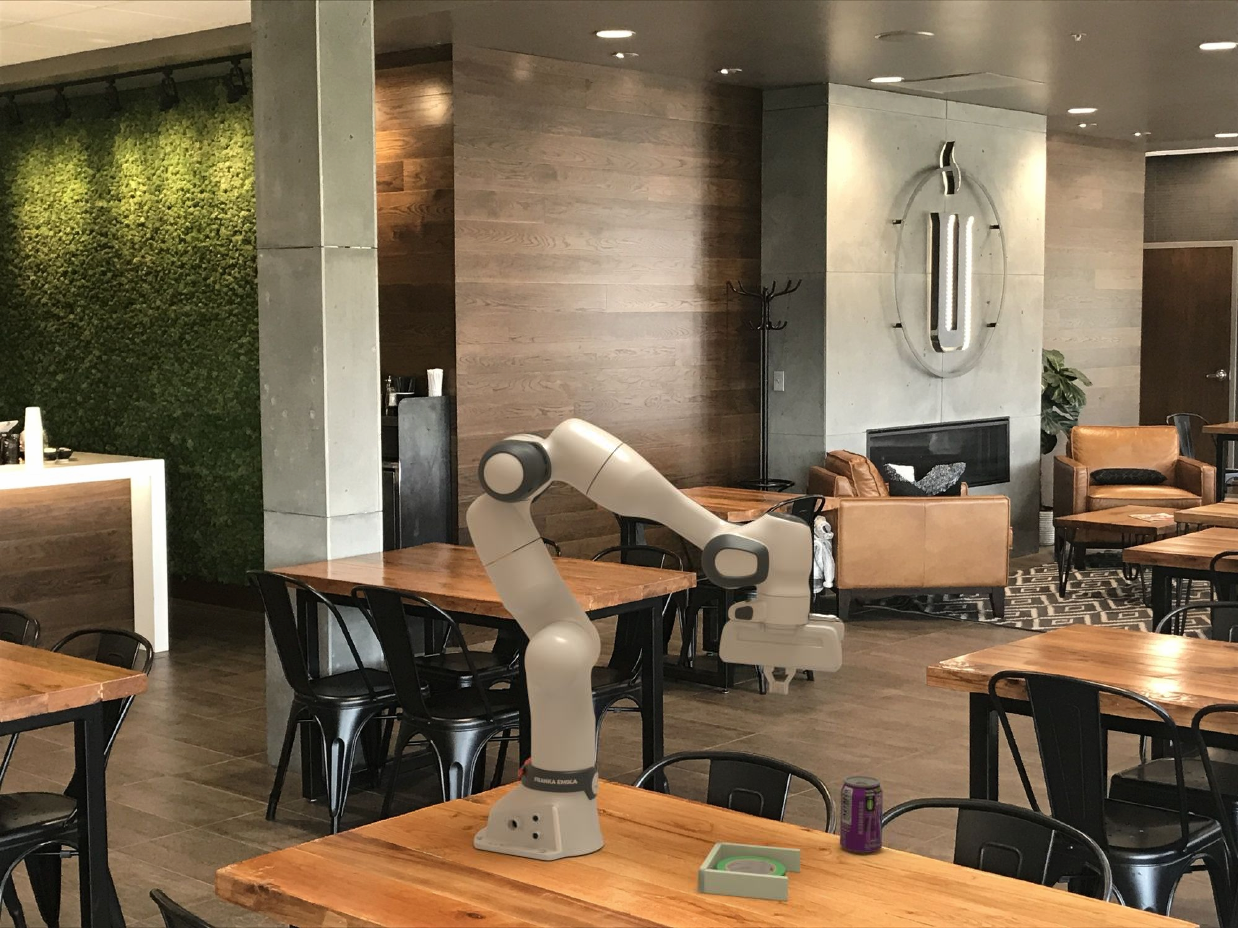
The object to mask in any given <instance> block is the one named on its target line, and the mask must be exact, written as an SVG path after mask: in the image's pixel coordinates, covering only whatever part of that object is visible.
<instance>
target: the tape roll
mask: <svg viewBox="0 0 1238 928" xmlns="http://www.w3.org/2000/svg"><path fill="white" fill-rule="evenodd" d="M717 870H722V871H733V872H743V873H754V874H765V875H775V876H786V872H787V871H786V870H785V867H784V866H783V865H782V864H781V863H779V862H777V861H775V860H772V859H768V858H763V857H754V856H739V857H732V858H727V859H725V860H722V861H720V862H719V863H718V864H717Z"/></svg>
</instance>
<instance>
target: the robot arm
mask: <svg viewBox="0 0 1238 928" xmlns="http://www.w3.org/2000/svg"><path fill="white" fill-rule="evenodd" d="M477 476H478V477H477V478H478V481H479V484H480V486H481V487H482V489H483V491H484V492H485V493H483V494H481V495H479V496H478V497H477V498H476V499H475V500H474V501H472V503H471V504H470V506H469V507H468V509H467V511H466V517H465V519H466V524H467V528H468V531H469V535H470V537H471V540H472V543H473V545H474V548H475V551H476V553H477V556H478V558H479V560H480V562H481V564H482V566H483V567H484V570H485V572H486V574H487V576H488V578H489V579H490V581H491V584H492V585H493V588H494V589H495V592H496V593H497V595H498V597H499V599H500V601H501V603H502V606H503V607H504V609H506V611H508V612H509V614H511V615H512V617H513V618H514V619H515V620H516V622H517V623H518V624H519V626H520V628H521V629H522V630H523V632H524V633H525V635H526V636H527V638H528V639H529V642H528V645H527V646H526V649H525V655H524V668H525V669H524V670H525V673H526V685H527V686H526V687H527V694H528V701H529V702H528V703H529V709H530V710H529V711H530V719H531V722H530V723H531V725H530V726H531V728H530V729H531V730H530V731H531V735H530V736H531V743H530V744H531V745H530V746H531V748H530V750H531V753H530V754H531V755H530V757H529V758H528V759H526V760H525V761H524V764H523V765H522V766H521V767H520V769H519V770H518V771H517V772H518V774H517V775H518V776H517V777H518V778H520V781H521V782H520V783H519V784H518V785H516V786H515V787H514V788H512V789H511V790H509V791H508V792H507V793H506V794H504V795H503V796H502V797H501V798H500V799H498V800H497V801H496V802H494V803H493V805H492V807H491V809H490V811H489V814H488V818H487V823H486V826H485V827H483V828H481V829H480V830H479V831H478V832H477V833H476V834H475V835H474V837H473V847H474V848H475V849H478V850H483V851H489V852H495V853H500V854H506V855H514V856H518V857H519V856H520V857H526V858H531V859H535V860H543V861H553V860H557V859H558V860H559V859H562V858H565V857H567V858H568V857H574V856H575V857H576V856H580V855H581V856H582V855H586V854H590V853H594V852H596V851H598V850H599V849H601V848H602V847H603V846H604V845H605V840H604V837H603V835H602V834H603V833H602V830H601V826H600V819H599V813H598V803H597V796H598V792H599V772H598V771H599V769H598V762H596V715H595V712H594V703H593V693H592V692H593V691H592V677H591V676H592V670H593V667H594V666H595V665H596V663H597V662H598V660H599V658H600V655H601V648H602V647H601V638H600V635H599V632H598V629H597V628H596V626H595V625H594V624H593V623H592V622H591V620H590V618H589V617H588V615H587V613H586V612H585V610H584V609H583V607H582V606H581V604H580V602H579V601H578V600H577V597H576V596H575V595H574V594H573V592H572V590H571V589H570V588H569V587H568V585H567V583H566V582H565V581H564V579H563V577H562V575H561V574H560V572H559V569H558V568H557V566H556V565H555V564H556V563H555V562H554V561H553V559H552V557H551V555H550V552H549V550H548V548H547V547H546V545H545V543H544V541H543V539H542V537H541V535H540V533H539V532H538V530H537V528H536V526H535V523H534V521H533V519H532V516H531V512H530V510H531V504H534V503H536V502H537V501H538V500H539V498H540V497H541V496H542V495H543V494H544V493H545V492H546V491H548V490H549V489H550V488H551V487H552V485H553V484H554V483H555V481H560V482H564V483H566V484H568V485H569V486H571V487H573V488H575V489H576V490H577V491H579V492H580V493H581V494H583V495H584V496H585V497H587V498H588V499H590V500H591V501H593V502H595V503H596V504H597V505H599V506H600V507H603V508H605V509H607V510H609V511H610V512H613V513H615V514H617V515H620V516H622V517H633V518H634V517H636V518H642V519H643V518H644V519H649V520H652V521H655V522H658V523H660V524H663V525H664V526H666V527H668V528H669V529H671V530H672V531H674V532H675V533H677V534H678V535H680V536H681V537H683V538H685V539H686V540H687V541H689V542H690V543H692V544H693V545H695V546H697V548H699V549H700V550H702V553H701V557H700V558H701V560H700V561H701V567H702V570H703V573H704V574H705V576H706V578H707V579H708V580H709V581H710V582H711V583H713V584H714V585H716V586H718V587H720V588H723V589H728V590H730V589H731V590H732V589H739V588H744V587H751V586H754V587H756V598H753V599H752V598H749V599H746V600H743V601H739V602H736V603H734V604H732V605H731V606H729V609H728V611H727V612H728V613H727V615H728V621H727V622H726V623H725V624H724V626H723V629H722V633H721V637H720V641H719V643H720V644H719V651H718V652H719V653H718V655H719V657H720V659H721V661H723V662H724V663H733V664H743V665H755V666H763V674H764V676H765V678H766V679H767V682H768V683H769V685H768V686H769V688H768V689H769V690H768V692H769V693H770V694H779V695H788V693H789V684H790V682H791V681H792V679H793V677H794V676H795V674H796V673H797V672H796V671H797V670H808V671H817V672H829V673H835V672H837V671H838V670H839V669H841V667H842V665H843V652H842V651H843V648H842V641H844V639H845V634H846V633H845V632H846V631H845V630H846V626H845V623H844V621H843V620H842V619H840V618H839V617H837V615H834V614H821V613H814V612H810V607H811V606H810V605H811V604H810V603H811V589H810V588H811V587H810V583H809V579H810V575H811V572H812V569H813V568H812V567H813V566H812V565H813V539H812V532H811V527H810V526H809V524H808V522H806V521H805V520H804V519H802V518H801V517H799V516H796V515H794V514H790V513H785V512H778V511H769V512H768V511H767V512H766V513H765V514H764V515H762V516H761V517H758V518H757V519H755V520H753V521H751V522H748V523H747V524H746V523H740V522H737V521H736V522H735V521H729V520H726V519H724V518H721V517H720V516H718V515H717V514H715V513H713V512H712V511H710V510H709V509H708V508H706V507H704V506H703V505H701V504H700V503H698V502H697V501H695V500H694V499H692V498H691V497H689V496H688V495H686V494H685V493H684V492H682V491H681V490H679V489H678V488H677V487H676V486H674V485H673V484H672V483H671V482H670V481H669V480H667V479H666V477H664V475H662V474H661V473H660V471H658V469H656V468H655V467H654V466H653V465H652V464H650V462H649V461H648V460H646V459H645V458H644V457H643V456H642V455H641V454H640V453H638V452H637V451H636V450H634V449H633V448H632V447H631V446H629V445H628V444H627V443H625V442H623V441H622V440H620V439H619V438H617V437H616V436H615V435H613V434H611V433H609V432H608V431H606V430H604V429H602V428H600V427H598V426H596V425H595V424H592V423H590V422H589V421H586V420H583V419H580V418H576V417H575V418H573V417H572V418H568V419H566V420H564V421H562V422H561V423H559V424H558V425H557V426H555V428H554V429H553V430H552V431H551V433H550V434H549V435H548V437H546V436H544V435H543V434H542V435H541V434H539V433H535V432H527V433H520V434H513V435H509V436H507V437H506V438H503V439H502V440H500V441H497V442H494V443H493V444H491V445H490V446H489V447H488V448H487V449H486V450H485V451H484V452H483V454H482V455H481V458H480V460H479V463H478V467H477ZM729 619H730V620H729ZM775 667H776V668H785V675H787V677H786V678H785V680H784V681H778V680H776V679H775V677H774V674H773V673H772V672H774V671H775Z"/></svg>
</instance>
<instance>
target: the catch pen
mask: <svg viewBox="0 0 1238 928" xmlns="http://www.w3.org/2000/svg"><path fill="white" fill-rule="evenodd" d="M801 852H802V850H801V848H790V847H780V846H768V845H767V846H765V845H756V844H744V843H736V842H734V843H733V842H723V841H716V842H715V844H714V846H713V847H712V849H711V850H710V852H708V855H707V856H706V858H705V859H704V861H703V862H702V864H701V865H700V867H699V869H698V871H697V873H698V875H697V877H698V878H697V879H698V880H697V883H698V884H697V892H698V893H702V894H710V895H723V896H731V897H732V896H733V897H742V898H753V899H760V900H761V899H762V900H764V899H765V900H771V901H780V902H781V901H782V902H787V901H788V899H789V897H788V896H789V877H788V876H786V875H785V876H775V875H765V874H754V873H743V872H733V871H722V870H717V864H718V863H719V862H720V861H722V860H725V859H727V858H732V857H739V856H754V857H763V858H768V859H772V860H775V861H777V862H779V863H781V864H782V865H783V866H784V867H785V870H786V872H791V873H792V872H794V873H800V872H801V857H802V855H801Z"/></svg>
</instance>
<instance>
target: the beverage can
mask: <svg viewBox="0 0 1238 928" xmlns="http://www.w3.org/2000/svg"><path fill="white" fill-rule="evenodd" d="M883 795H884V793H883V789H882V788H881V781H880V779H878V778H877V777H872V776H868V775H867V776H866V775H852V776H851V775H850V776H847V777H844V778H843V785H842V786H841V789H840V818H839V819H840V822H839V823H840V827H839V830H840V831H839V845H840V846H841V847H842V848H844V850H845V849H846V850H847V851H849V852H850V853H854V854H862V855H863V854H864V855H865V854H872V853H875V852H876V851H878V850H881V848H882V846H883V799H884V798H883Z"/></svg>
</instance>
